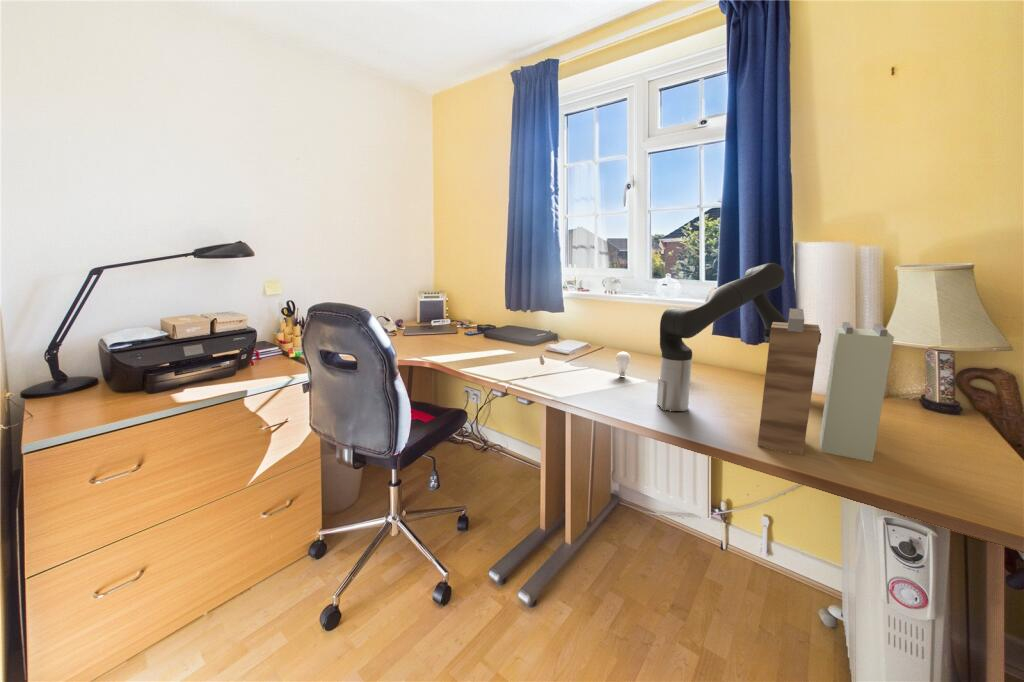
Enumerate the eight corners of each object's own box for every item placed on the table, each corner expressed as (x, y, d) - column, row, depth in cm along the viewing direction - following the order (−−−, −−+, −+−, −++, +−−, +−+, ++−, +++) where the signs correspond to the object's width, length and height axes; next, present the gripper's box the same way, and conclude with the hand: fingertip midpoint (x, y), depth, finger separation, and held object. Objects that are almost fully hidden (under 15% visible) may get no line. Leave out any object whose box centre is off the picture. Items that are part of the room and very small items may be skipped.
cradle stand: (872, 461, 102) (895, 330, 95) (821, 451, 107) (840, 327, 101) (866, 446, 110) (887, 324, 103) (819, 437, 115) (836, 321, 109)
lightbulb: (617, 374, 178) (618, 349, 176) (632, 376, 175) (633, 351, 173) (612, 378, 173) (613, 352, 171) (626, 380, 170) (628, 354, 168)
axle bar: (802, 332, 97) (804, 319, 97) (787, 330, 99) (789, 318, 98) (801, 319, 115) (802, 309, 115) (788, 319, 117) (789, 308, 116)
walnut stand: (803, 455, 105) (820, 330, 99) (757, 446, 111) (771, 327, 104) (802, 441, 113) (818, 324, 107) (759, 432, 119) (772, 321, 112)
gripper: (765, 334, 140) (766, 315, 127) (818, 338, 132) (824, 319, 119) (763, 355, 138) (763, 338, 125) (815, 361, 131) (821, 343, 117)
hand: (793, 329), depth 122 cm, fingers open, 8 cm apart
